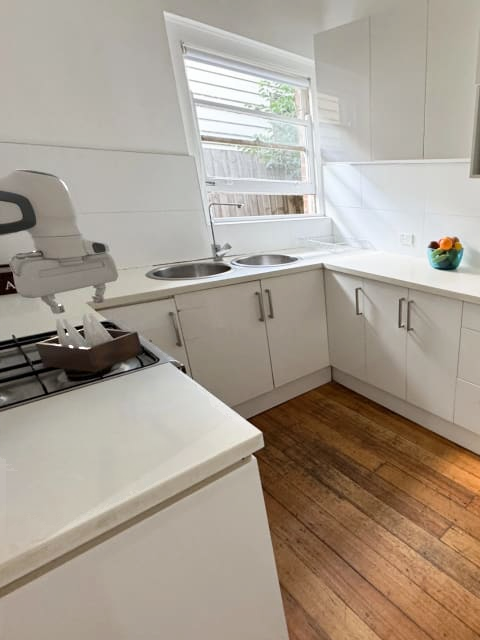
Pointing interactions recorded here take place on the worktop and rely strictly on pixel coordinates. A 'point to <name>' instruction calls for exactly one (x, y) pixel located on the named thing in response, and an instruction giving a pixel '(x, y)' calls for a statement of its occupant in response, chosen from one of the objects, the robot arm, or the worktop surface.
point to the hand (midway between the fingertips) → (80, 307)
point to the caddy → (90, 352)
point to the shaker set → (91, 331)
